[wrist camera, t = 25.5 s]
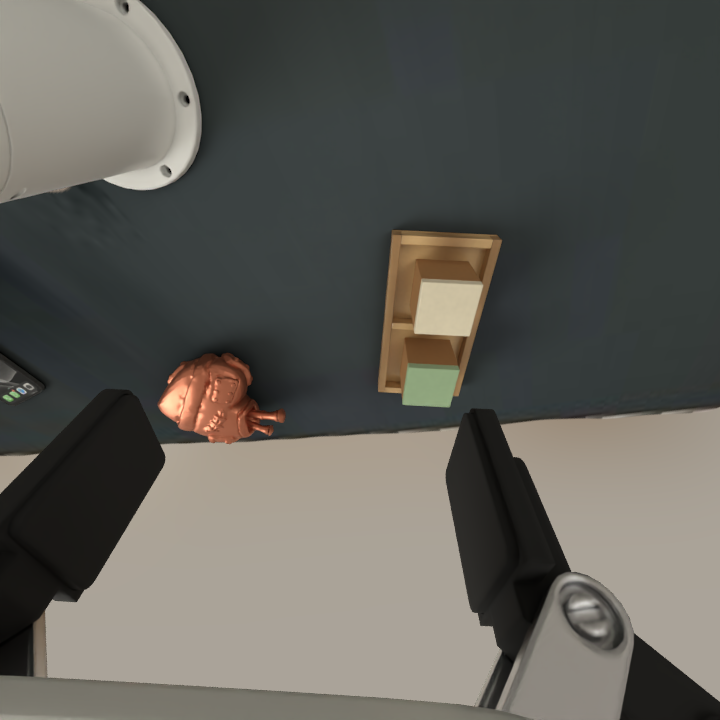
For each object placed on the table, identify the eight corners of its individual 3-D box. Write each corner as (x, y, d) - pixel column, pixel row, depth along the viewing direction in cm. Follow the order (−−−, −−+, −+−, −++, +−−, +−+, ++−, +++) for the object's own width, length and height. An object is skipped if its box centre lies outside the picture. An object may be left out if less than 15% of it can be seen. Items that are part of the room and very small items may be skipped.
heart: (168, 455, 42) (288, 451, 41) (127, 374, 35) (268, 368, 35) (189, 422, 47) (296, 418, 46) (157, 346, 40) (280, 340, 40)
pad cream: (409, 306, 35) (414, 334, 30) (415, 258, 32) (422, 281, 28) (457, 308, 35) (469, 337, 30) (468, 261, 32) (483, 285, 27)
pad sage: (399, 372, 40) (402, 405, 36) (404, 337, 37) (408, 367, 33) (441, 374, 40) (449, 407, 36) (449, 339, 37) (460, 370, 33)
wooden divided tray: (378, 383, 42) (378, 392, 40) (392, 229, 31) (392, 234, 30) (455, 387, 42) (458, 396, 40) (497, 234, 31) (502, 240, 29)
